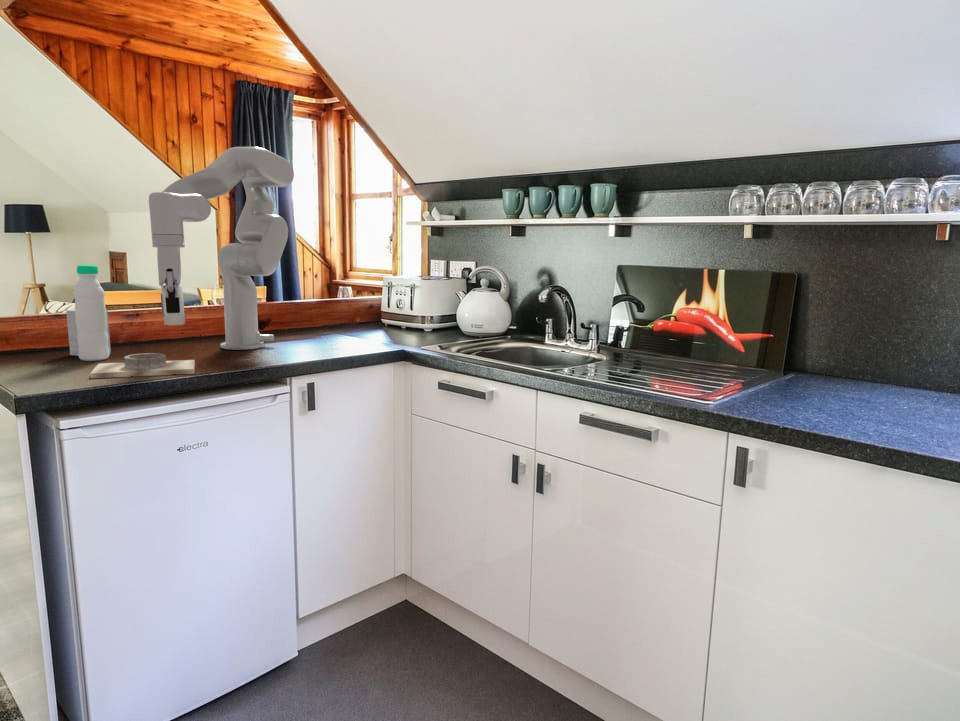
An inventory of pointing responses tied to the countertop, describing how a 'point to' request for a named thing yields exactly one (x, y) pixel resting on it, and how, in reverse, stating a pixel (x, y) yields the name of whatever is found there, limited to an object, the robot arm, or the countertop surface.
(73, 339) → the supplement box
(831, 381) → the countertop surface
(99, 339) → the milk bottle
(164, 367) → the board
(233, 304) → the robot arm
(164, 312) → the white round post
